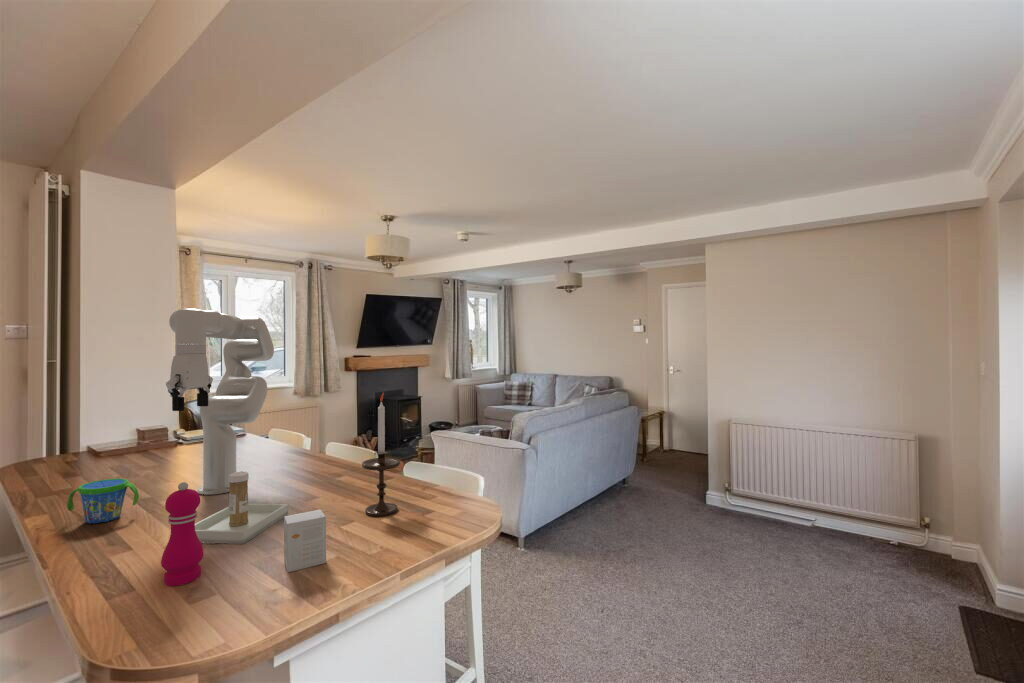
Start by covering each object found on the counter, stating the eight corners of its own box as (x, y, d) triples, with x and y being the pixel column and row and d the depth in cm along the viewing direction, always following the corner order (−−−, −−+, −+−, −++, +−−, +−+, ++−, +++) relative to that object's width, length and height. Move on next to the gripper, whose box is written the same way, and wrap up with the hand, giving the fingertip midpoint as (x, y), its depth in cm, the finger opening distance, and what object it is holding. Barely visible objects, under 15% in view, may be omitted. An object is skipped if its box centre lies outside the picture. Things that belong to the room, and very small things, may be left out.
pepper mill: (175, 571, 100) (175, 477, 100) (210, 569, 100) (211, 477, 101) (152, 588, 93) (152, 488, 93) (190, 586, 93) (190, 487, 94)
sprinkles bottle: (249, 524, 123) (249, 473, 124) (229, 528, 121) (229, 476, 121) (247, 519, 127) (247, 470, 127) (228, 522, 125) (228, 472, 125)
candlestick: (408, 507, 139) (407, 390, 139) (383, 520, 129) (383, 393, 129) (379, 502, 143) (379, 389, 144) (353, 514, 133) (353, 392, 134)
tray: (234, 513, 134) (234, 503, 134) (288, 514, 133) (288, 504, 133) (181, 542, 114) (181, 530, 114) (243, 544, 113) (243, 531, 113)
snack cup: (145, 510, 137) (146, 476, 137) (124, 524, 127) (125, 486, 127) (83, 515, 134) (83, 479, 134) (56, 529, 123) (56, 491, 124)
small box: (321, 554, 108) (321, 508, 108) (326, 563, 103) (326, 516, 103) (283, 563, 104) (283, 515, 104) (286, 573, 99) (286, 523, 99)
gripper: (199, 350, 146) (199, 404, 146) (154, 351, 129) (154, 412, 129) (222, 350, 146) (222, 404, 146) (180, 351, 129) (181, 412, 129)
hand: (190, 408), depth 138 cm, fingers open, 9 cm apart
